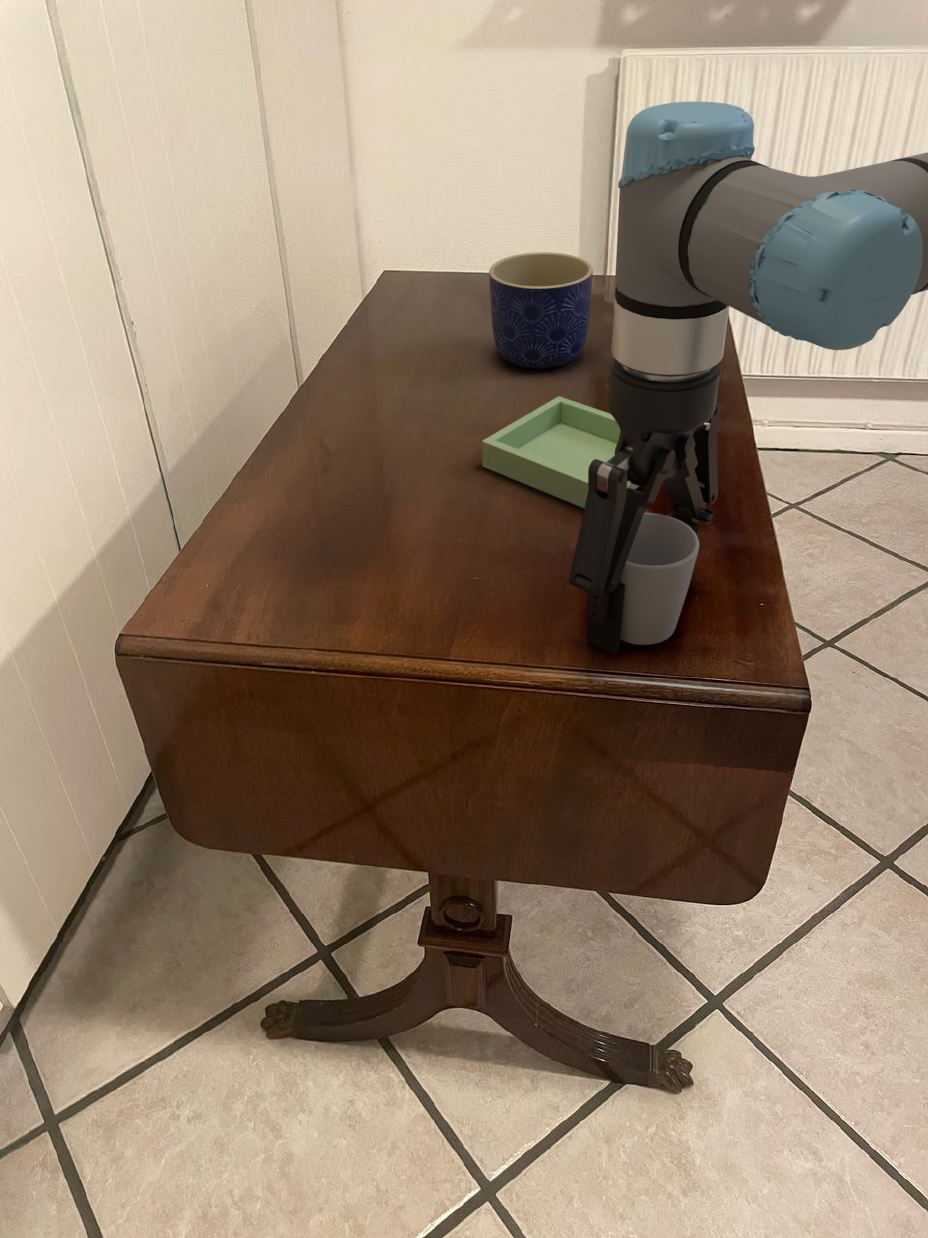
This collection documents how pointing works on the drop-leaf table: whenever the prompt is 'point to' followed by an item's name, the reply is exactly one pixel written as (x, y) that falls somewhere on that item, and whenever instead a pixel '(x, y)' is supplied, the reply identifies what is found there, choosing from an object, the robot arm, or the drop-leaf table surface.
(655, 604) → the cup
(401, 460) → the drop-leaf table surface
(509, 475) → the tray
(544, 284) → the planter
